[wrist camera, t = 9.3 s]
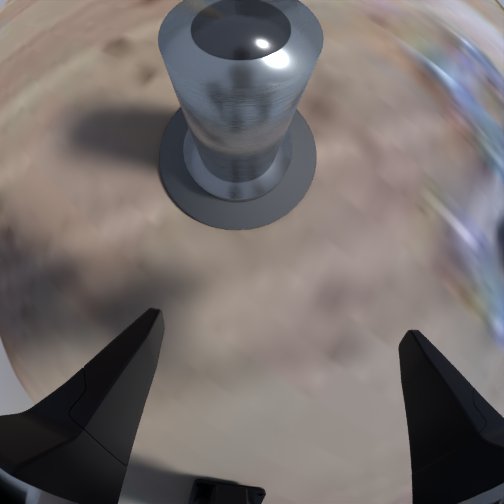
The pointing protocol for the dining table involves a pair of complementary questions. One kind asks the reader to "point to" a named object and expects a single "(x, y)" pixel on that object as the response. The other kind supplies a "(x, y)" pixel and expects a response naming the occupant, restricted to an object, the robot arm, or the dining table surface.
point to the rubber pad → (244, 212)
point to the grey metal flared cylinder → (239, 88)
